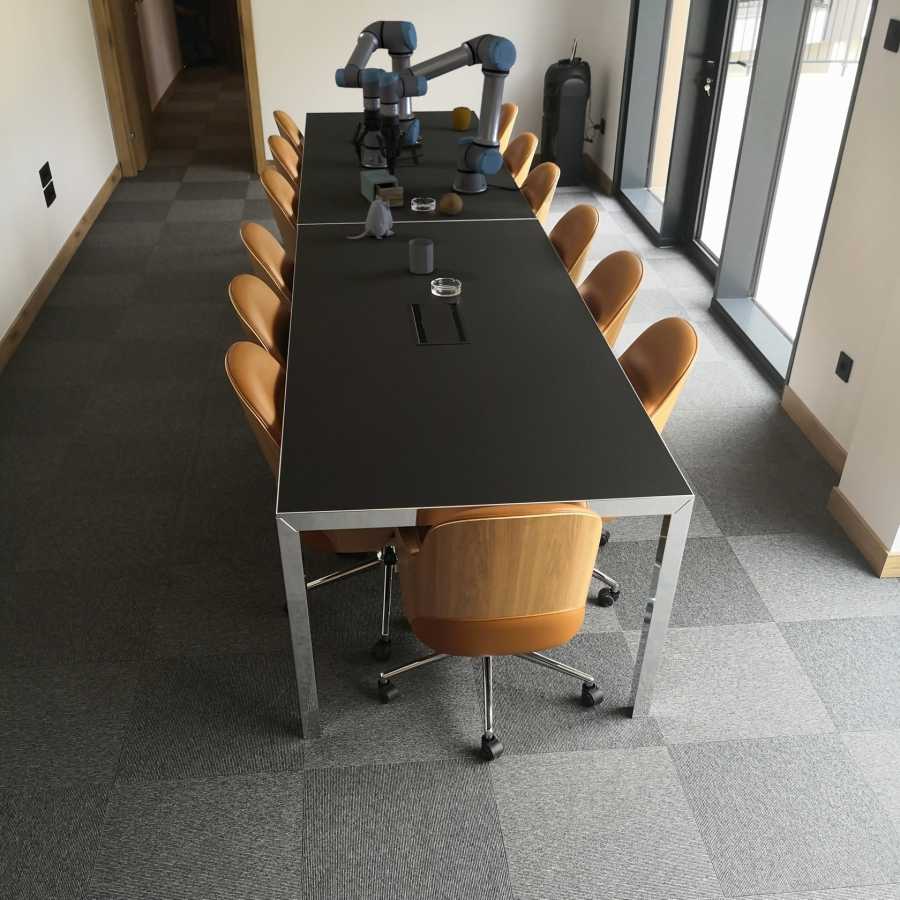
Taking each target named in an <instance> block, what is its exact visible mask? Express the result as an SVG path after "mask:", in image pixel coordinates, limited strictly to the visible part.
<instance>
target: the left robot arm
mask: <svg viewBox="0 0 900 900" xmlns="http://www.w3.org/2000/svg"><path fill="white" fill-rule="evenodd" d="M417 47H418V37H417V30H416V27H415V25H414V24H413V22H412V21H407V20H406V21H405V20H376V21H374V22H372V23H370V24H369V25H367V26H366V27H364V28H363V29H362V30H361V32H360V33H359V35H358V36H357V43H356V46H355V47H354V48H353V52H352V53H351V55H350V57H349V59H348V61H347V63H346V65H345V67H344V68H343V67H341V68H337V69H336V70H335V75H334V81H335V84H336V87H338V88H342V89H343V88H344V89H362V105H363V121H360V120H357V121H356V127H355V129H354V132H353V135H352V137H351V140H350V145H352V146H354V151H355V154H357V161H358V162H359V163H361V166H362V167H363V168H366V169H371V170H382V169H387V168H388V169H389V167H387V164H386V158H384V157H382V155H381V151H380V148H379V144H378V140H377V138H376V137H375V133H378V132H379V131H380V128H381V120H380V116H381V115H382V114H380V94H379V75H380V74H381V73H384V72H387V71H386V70H385V69H384V68H377V67H366V66H367V64H368V63H369V61H370V58H371V57H372V55H373V53H375V52H376V51H377V50H387V55H388V56H389V57H390V58H391V72H392V71H394V70H400V71H401V70H403V69H406V68H409V67H411V57H412V56H413V55H414V51H416V50H417ZM412 104H413V103H412V97H405V98H399V114H398V115H399V126H400V128H401V130H402V131H404V132H406V135H405V137H404V140H403V145H402V146H413V145H415V144H416V142H417V141H418V138H419V132H420V120H419V119H417V118H416V114H415V113H414V112H413V107H412ZM362 127H363V129H362ZM360 130H363V131H361V133H360ZM359 134H360V135H359ZM381 136H382V137H381V139H382V142H383V146H384V150H385V154H386V147H385V138H384V136H383V135H382V134H381ZM399 136H400V135H399V134H398V135H397V137H396V145H398V140H399ZM363 139H364V140H363ZM362 141H364V143H365V145H364V151H363V155H362V145H361V144H360V143H363V142H362ZM420 156H423V153H417V154H414V155H410V156H403V157H397V159H396V161H401V160H408V159H413V158H416V157H420ZM391 157H392V146H391V139H390V158H391Z"/></svg>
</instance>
